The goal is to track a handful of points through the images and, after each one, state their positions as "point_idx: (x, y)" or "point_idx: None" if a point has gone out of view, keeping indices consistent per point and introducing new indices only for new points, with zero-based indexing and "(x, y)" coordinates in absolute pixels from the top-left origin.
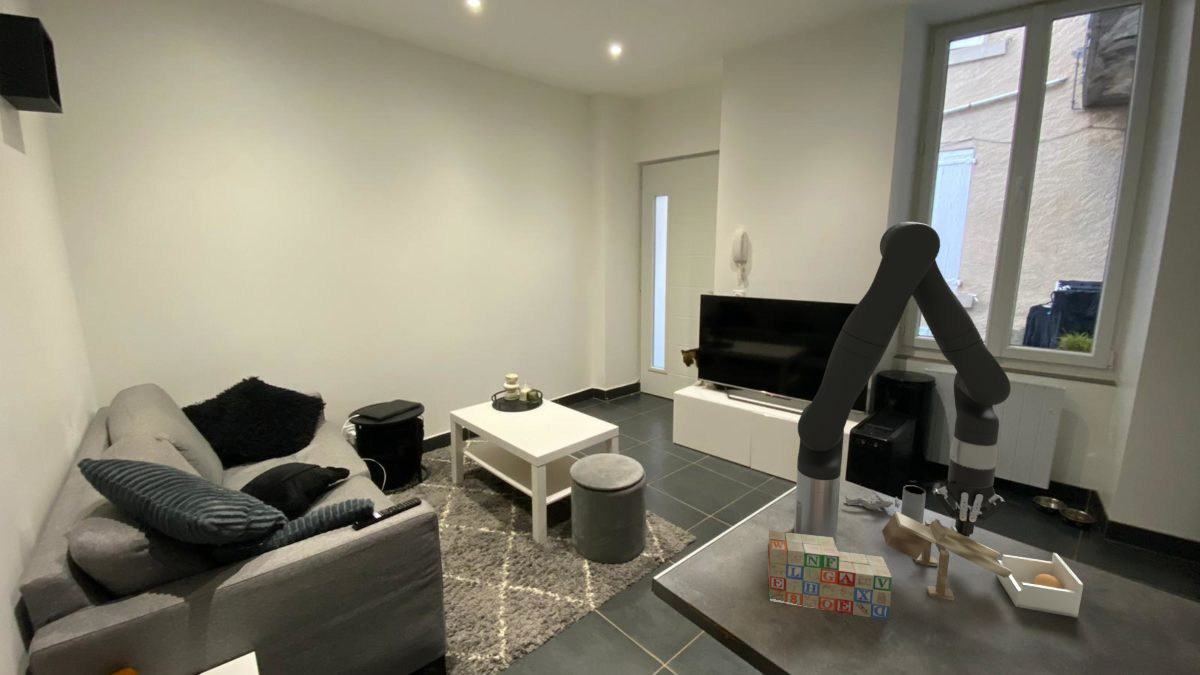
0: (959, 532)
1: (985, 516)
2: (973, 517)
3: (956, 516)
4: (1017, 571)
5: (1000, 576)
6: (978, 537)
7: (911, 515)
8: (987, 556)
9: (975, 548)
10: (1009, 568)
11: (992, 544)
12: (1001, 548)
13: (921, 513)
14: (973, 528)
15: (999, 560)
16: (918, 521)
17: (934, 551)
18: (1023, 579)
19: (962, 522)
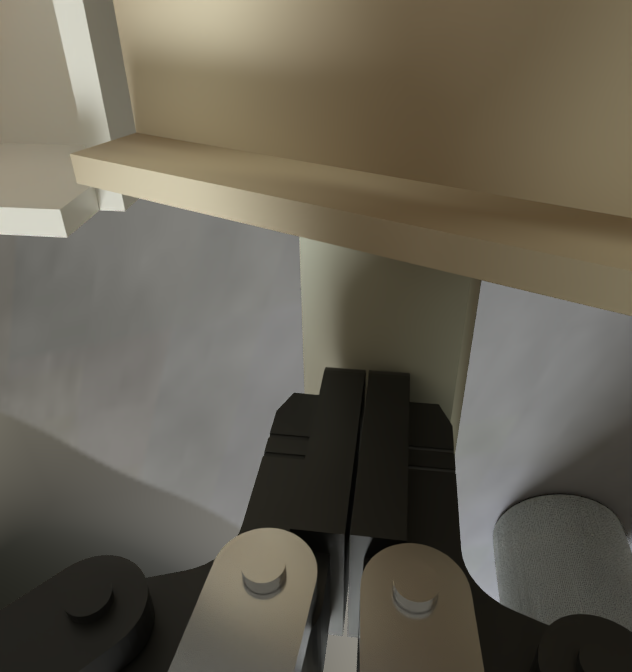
0: (424, 406)
1: (40, 638)
2: (246, 610)
3: (501, 621)
4: (23, 159)
5: None
6: (197, 502)
7: (628, 623)
8: (209, 120)
9: (320, 168)
10: (68, 166)
11: (140, 459)
12: (103, 434)
13: None
14: (266, 453)
15: (116, 208)
16: (561, 576)
17: (512, 343)
18: (12, 129)
19: (404, 522)
